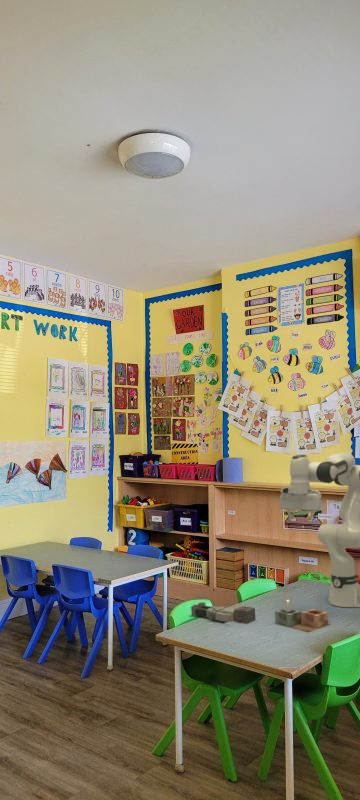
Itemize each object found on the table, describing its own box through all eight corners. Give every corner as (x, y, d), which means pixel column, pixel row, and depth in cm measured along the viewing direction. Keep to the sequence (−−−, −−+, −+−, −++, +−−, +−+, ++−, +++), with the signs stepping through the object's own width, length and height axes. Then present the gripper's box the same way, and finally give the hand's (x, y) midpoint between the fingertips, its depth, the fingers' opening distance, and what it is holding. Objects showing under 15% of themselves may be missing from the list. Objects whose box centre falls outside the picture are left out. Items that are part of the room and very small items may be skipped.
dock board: (296, 619, 260) (295, 604, 260) (330, 627, 246) (329, 612, 247) (273, 626, 249) (273, 611, 250) (308, 636, 236) (307, 619, 236)
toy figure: (203, 599, 275) (257, 606, 257) (204, 613, 274) (258, 622, 256) (189, 604, 266) (244, 612, 248) (189, 619, 265) (245, 628, 247)
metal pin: (287, 621, 251) (287, 598, 252) (293, 623, 249) (292, 599, 250) (283, 623, 249) (282, 599, 250) (289, 624, 247) (288, 600, 248)
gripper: (323, 490, 263) (324, 520, 262) (283, 488, 275) (284, 517, 274) (318, 490, 258) (319, 521, 257) (277, 489, 270) (278, 519, 269)
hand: (300, 519), depth 265 cm, fingers open, 8 cm apart
